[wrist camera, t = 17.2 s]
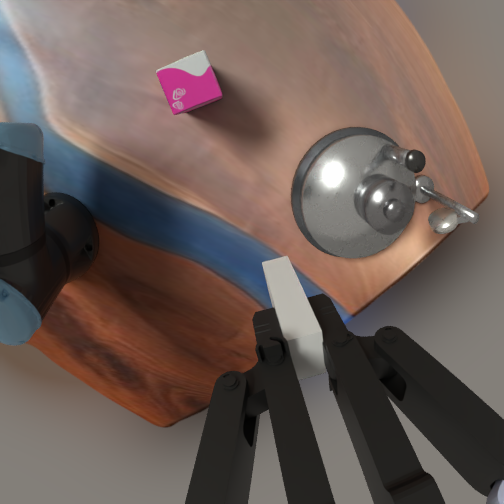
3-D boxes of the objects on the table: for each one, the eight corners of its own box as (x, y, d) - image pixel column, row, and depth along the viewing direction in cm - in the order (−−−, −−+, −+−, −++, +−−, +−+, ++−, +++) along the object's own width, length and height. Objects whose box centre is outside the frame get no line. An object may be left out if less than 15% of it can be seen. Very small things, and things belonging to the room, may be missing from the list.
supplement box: (169, 78, 37) (154, 68, 27) (209, 63, 36) (207, 47, 26) (183, 114, 39) (173, 115, 29) (223, 98, 39) (226, 94, 29)
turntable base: (328, 276, 54) (330, 279, 53) (263, 173, 45) (265, 174, 44) (423, 213, 51) (427, 215, 50) (380, 104, 41) (383, 104, 40)
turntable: (278, 230, 48) (293, 260, 39) (332, 111, 40) (362, 113, 31) (375, 266, 53) (401, 296, 44) (426, 168, 45) (462, 184, 37)
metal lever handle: (396, 218, 50) (446, 257, 37) (387, 196, 48) (440, 230, 35) (433, 193, 49) (488, 223, 35) (426, 170, 47) (484, 196, 33)
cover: (345, 211, 45) (362, 227, 40) (368, 165, 42) (388, 174, 37) (383, 229, 47) (402, 245, 42) (405, 186, 44) (427, 198, 39)
